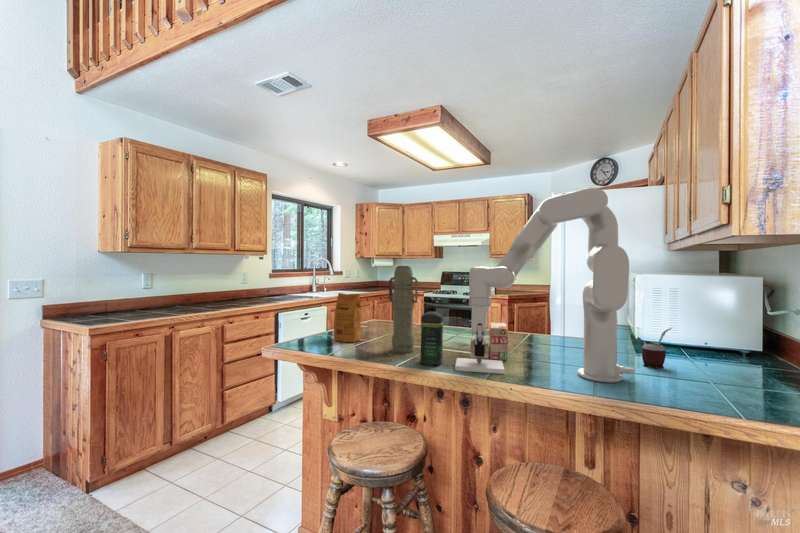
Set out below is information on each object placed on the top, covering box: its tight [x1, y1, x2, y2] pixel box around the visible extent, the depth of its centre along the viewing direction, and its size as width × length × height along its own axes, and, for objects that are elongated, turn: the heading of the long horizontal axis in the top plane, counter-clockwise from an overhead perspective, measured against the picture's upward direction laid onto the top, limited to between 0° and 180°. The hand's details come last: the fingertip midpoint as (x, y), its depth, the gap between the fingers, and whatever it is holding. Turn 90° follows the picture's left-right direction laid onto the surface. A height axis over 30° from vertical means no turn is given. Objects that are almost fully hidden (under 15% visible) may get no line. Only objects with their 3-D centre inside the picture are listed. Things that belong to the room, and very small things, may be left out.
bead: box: [469, 338, 490, 359], centre depth 129 cm, size 6×6×5 cm
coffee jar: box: [419, 310, 444, 366], centre depth 135 cm, size 10×8×19 cm
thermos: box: [388, 265, 418, 354], centre depth 152 cm, size 9×12×35 cm
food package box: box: [488, 322, 509, 361], centre depth 150 cm, size 21×6×12 cm, turn 168°
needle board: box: [454, 357, 505, 375], centre depth 129 cm, size 16×11×10 cm
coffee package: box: [333, 292, 362, 343], centre depth 171 cm, size 10×12×22 cm
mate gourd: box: [641, 327, 673, 370], centre depth 131 cm, size 8×8×15 cm
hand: (479, 353), depth 129 cm, fingers closed on bead, 5 cm apart
